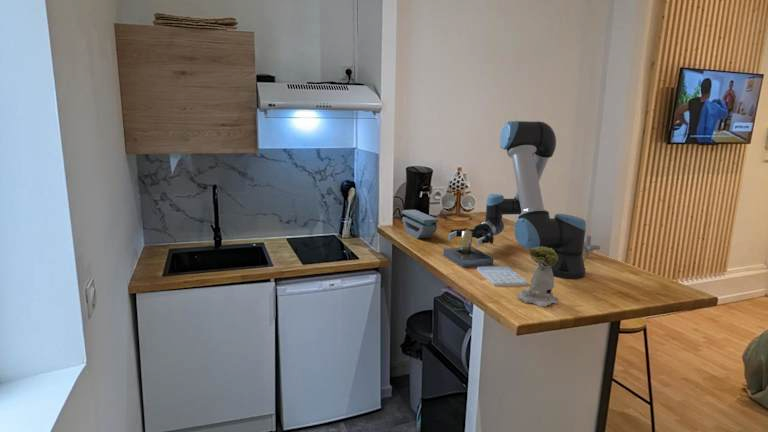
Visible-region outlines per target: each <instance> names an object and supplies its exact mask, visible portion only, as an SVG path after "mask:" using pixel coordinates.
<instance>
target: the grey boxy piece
mask: <svg viewBox="0 0 768 432" xmlns="http://www.w3.org/2000/svg"><path fill="white" fill-rule="evenodd" d="M401 214H403V215H404V216H402V224H403V227H404V229H405V233H406V234H407V235H409V236H410V237H413V238H415V239H416V240H418V239H431V238H432V237H433V235H434V234H435V233H436V231H437V230H438V225H437V224H435V223H439V219H438V218H436V217H434V216H432V215H429V214H426V213H424V212H421V210H417V209H404V210H403V209H402V210H401Z"/></svg>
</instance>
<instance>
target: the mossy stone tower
mask: <svg viewBox="0 0 768 432" xmlns="http://www.w3.org/2000/svg"><path fill="white" fill-rule="evenodd" d="M528 254H529V255H530V258H531V260H533V262H535V263H537V264H538V266H537V267H536V269H535V270H534V272H533V275H532V278H531V281H530V284H529V289H523V290H521V291H520V293H517V297H518V298H519V299H520V300H522V301H523V302H522V303H524V304H525V303H526V304H527V303H529V304H530V303H531V304H534V305H535V306H538V307H548V306H550V305H552V306H554V304H555V305H556V304H559V303H558V302H559V298H557V297H556V296H554V293H553V292H552V290H553V289H554V287H555V280H556V278H555V276H553V273H552V269H551V266H554V265H555V263H556V262H557V261H558V256H557V254H556V252H555V251H554V250H553V249H552V248H548V247H535V248H534V247H533V248H532V249H530V251H529V253H528ZM553 303H554V304H553Z"/></svg>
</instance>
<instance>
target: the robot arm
mask: <svg viewBox="0 0 768 432" xmlns="http://www.w3.org/2000/svg"><path fill="white" fill-rule="evenodd" d="M499 145H500V148H501V149H502V150H505V151H506V153H507V156H508V158H510V159H511V160H512V166H513V172H514V177H515V178H514V179H515V183H516V188H517V190H516V193H515V195H514V198H504V195H503V194H499V193H490V194H488V195H487V197H486V207H485V221H483V222H482V223H479V224H477V225H475V227H473V228H472V229H471V228H470V229H469V228H468V227H465V228H458V229H450V233H448V234H447V241H451V240H454V239H456V238H457V237H459V238H460V237H461V236H462V231H464V230H467V231H472V238H475V239H476V246H477V247H479V246H482V245H484V244H488V243H490V244H494V236H497V235H499V234H501V233H502V232H503V231H504V230H505V223H504V221H503V216H504V215H505V216H506V215H507V216H508V215H518V216H517V217H518V219H517V220H516V221H515V223H514V236H515V239H516V241H517V242H518V244H519V246H521V247H522V248H524V249H526V250H527V249H530V250H532V248H533V247H534V248H535V247H548V248H551V249H553V250H554V251H555V252H556V254H557V256H558V261H557V262H556V263H555V265H554V266H551V269H552V273H553V277H556V278H561V279H563V278H564V279H570V280H571V279H573V280H574V279H582V278H585V276H586V268H585V263H584V262H585V261H584V258H583V257H584V256H583V254H584V249H583V247H584V242H585V239H586V238H585V236H586V231H587V221H586V220H585V219H584V218H581V217H579V216H574V215H570V214H566V213H565V214H564V213H555V214H554V218H551V217H550V213H549V211H548V210H546V209H545V207H544V202H543V198H542V191H541V187H540V186H541V185H540V181H541V180H540V179H541V178H542V175H543V172H544V171H545V168H546V166H547V163H548V160H549V159H550V158H552V157H553V156H554V152H555V150H556V147H557V138H556V134H555V131H554V130H553V128H552V127H551V125H549V124H548V123H546V122H544V121H537V120H536V121H527V120H526V121H524V120H522V121H520V120H514V121H513V120H510V121H507V122H505V124H504V125H503V127H502V129H501V131H500V136H499Z"/></svg>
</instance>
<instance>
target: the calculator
mask: <svg viewBox="0 0 768 432" xmlns="http://www.w3.org/2000/svg"><path fill="white" fill-rule="evenodd" d="M476 267H477V268H476V270H477V272H478V271H479V274H480V275H482V276H483V277H484V279H486V280H487V281H488V282H489V283H490V284H491V286H493V285H494V286H493V287H522V286H523V287H525V286H528V283H529V282H527V280H525V278H523V277H522V276H520V275H519V274H518V273H517V272H515V270H513V269H511V267H509V266H506V265H505V266H503V265H502V266H494V265H491V266H476Z"/></svg>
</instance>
